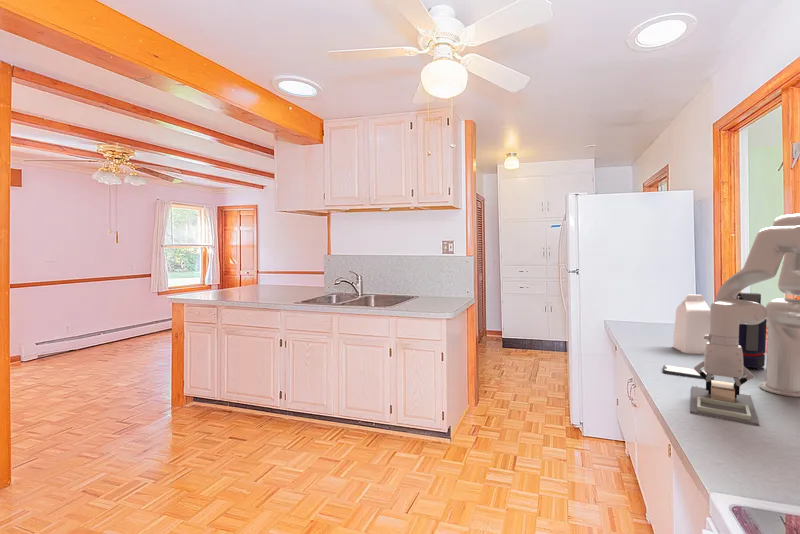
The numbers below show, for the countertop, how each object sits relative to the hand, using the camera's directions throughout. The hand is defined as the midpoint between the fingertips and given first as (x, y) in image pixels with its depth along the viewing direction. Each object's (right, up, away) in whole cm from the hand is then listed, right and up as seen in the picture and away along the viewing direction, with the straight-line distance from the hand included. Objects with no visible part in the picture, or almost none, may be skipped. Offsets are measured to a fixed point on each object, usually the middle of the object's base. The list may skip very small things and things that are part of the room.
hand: (722, 394), depth 139 cm
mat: (-4, -2, -5) cm, 6 cm away
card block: (0, -1, 0) cm, 1 cm away
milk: (+31, +3, +60) cm, 67 cm away
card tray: (-8, -2, -10) cm, 13 cm away
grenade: (+35, +1, +34) cm, 49 cm away
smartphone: (+6, 0, +26) cm, 27 cm away
